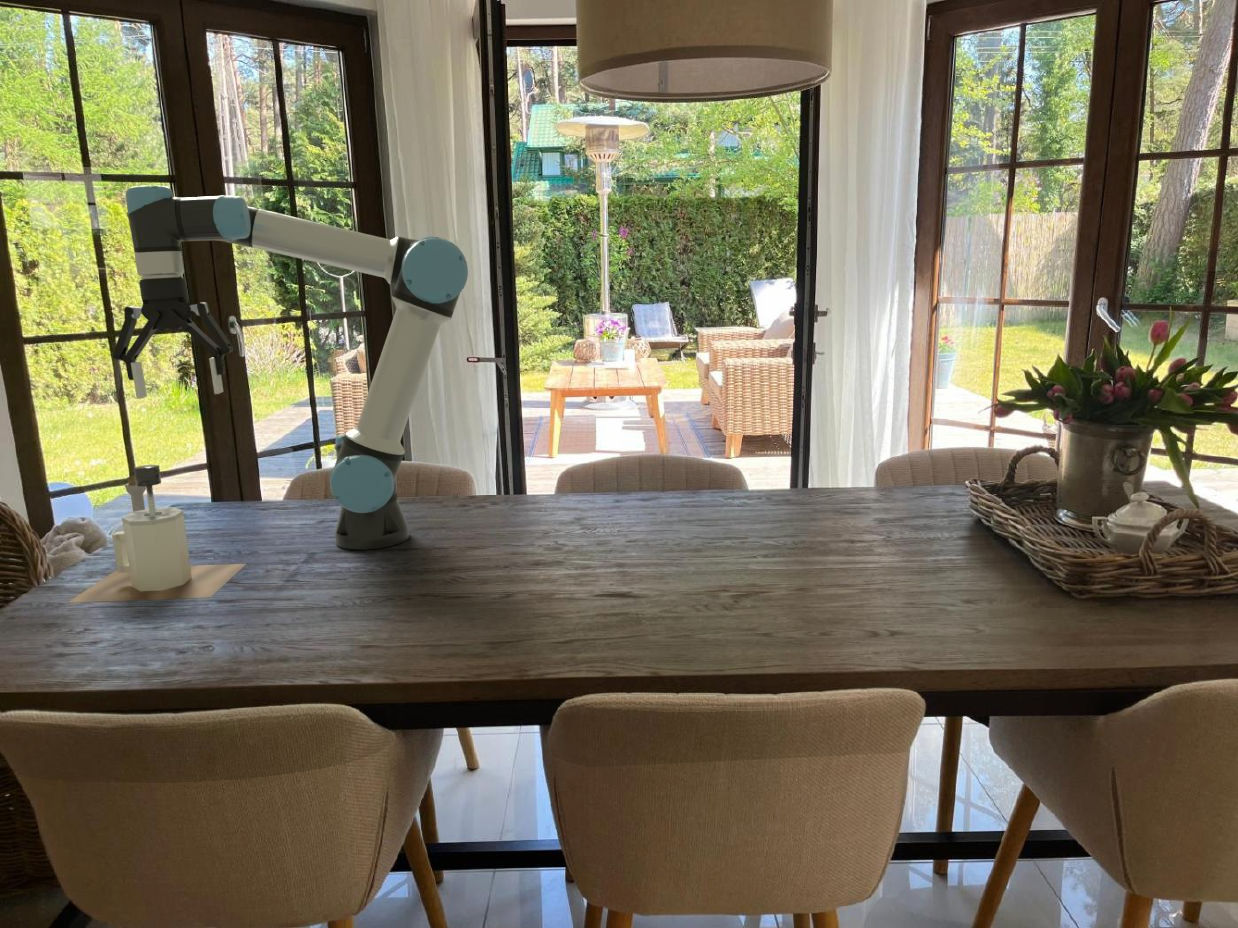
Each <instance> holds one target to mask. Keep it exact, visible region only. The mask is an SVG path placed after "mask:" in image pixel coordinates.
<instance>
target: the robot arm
mask: <svg viewBox="0 0 1238 928" xmlns="http://www.w3.org/2000/svg"><path fill="white" fill-rule="evenodd" d="M125 201H126V209H127V212H126V216H127V219H128V224H129V230H130V234H131V239H132V241H131V242H132V245H133V252H134V259H135V268H136V273H137V276H139V277H141V279H139V281H138V284H139V291H140V296H141V301H142V306H141V307H139V306H135V305H130V306H129V305H128V306H125V307H124V309H123V311H124V312H123V314H124V321H123V324H122V326H121V329H120V332H119V335H118V339H117V341H116V344H115V348H114V350H113V353H112V358H113V359H114V360H119V361H121V362H123V363H125V368H126V373H127V378H128V380H129V381H133V383H134V384H133V385H134V389H135V391H134V392H135V396H136V399H140V400H141V399H144V398H146V397H148V394H147V393H148V392H147V389H146V388H147V387H146V382H145V376H144V371H143V363H142V360H141V361H140V360H138V357H139V356H140V355H141V353H142V351H143V350H144V348H145V347H146V346H147V344H148V342H149V341H150V340H151V338H152V337H153V336H154V335H155V333H156V332H157V331H165V330H166V331H167V330H173V331H174V330H181V329H183V330H184V331H185V332H187V333H188V334H189V335H190V336H192V338H193V339H195V340H196V341H197V343H199V345H201V346H203V348H204V349H205V350H206V351H208V352H209V353H210V354H211V355H212V357H210V358H208V360H209V367H210V372H211V373H210V374H211V379H212V380H211V381H212V386H213V393H214V395H220V394H221V393H224V387H223V385H224V384H223V380H222V376H223V375H225V374H226V372H227V371H226V363H225V356H226V355H227V354H230V353H232V352H233V351H234V349H235V348H234V347H233V345H232V343H231V342H230V340H229V339H228V337H227V336H226V334H225V333H224V332H223V330H222V328H221V327H220V325H219V324H218V323H217V321H216V320H215V318H214V316H213V315H212V314H211V309H210V306H209V304H208V302H205V301H204V302H198V303H196V304H192V303H190V301H189V293H188V288H187V287H188V286H187V279H185V277H182V275H183V274H184V273H185V268H184V261H183V254H182V248H181V242H194V241H195V242H198V241H199V242H201V241H203V242H205V241H217V242H218V241H219V242H224V243H228V244H234V245H238V246H243V247H247V248H252V249H253V248H254V249H256V250H261V251H266V252H270V253H275V254H279V255H283V256H288V257H291V258H296V259H301V260H306V261H309V262H314V263H318V264H321V265H327V266H331V267H335V268H340V269H345V270H349V271H352V272H353V271H354V272H357V273H363V274H367V275H370V276H371V275H372V276H375V277H380V278H384V279H385V280H386V282H387V283H388V284H389V285H392V286H394V290H393V292H392V295H391V299H392V302H393V303H394V305H395V308H396V309H395V313H394V315H393V318H392V321H391V325H390V327H389V331H388V333H387V336H386V338H385V342H384V345H383V346H382V347H383V348H382V351H381V354H380V357H379V360H378V363H377V365H376V369H375V370H374V374H373V377H372V380H371V383H370V386H369V388H368V392H367V394H366V398H365V401H364V404H363V407H362V410H361V412H360V415H359V418H358V419H359V420H358V422H357V423H356V426H355V427H354V428H352V429H350V430H347V431H346V432H345V433H343V434H339V435H337V436H336V437H335V446H334V450H335V451H336V452H335V453H336V461H335V463H334V464H335V465H334V467H333V468H332V469H331V471H330V474H329V483H328V484H329V487H330V491H331V494H332V497H333V498H334V500H335V501H336V503H338V505H340V510H339V514H338V519H337V523H336V527H335V531H334V541H335V545H336V546H338V547H339V548H343V549H345V550H356V551H357V550H361V551H365V550H377V549H382V548H388V547H392V546H396V545H399V544H401V543H403V542H405V541H407V540H408V539H410V532H409V531H410V530H409V527H410V526H409V524H408V522H407V519H406V517H405V515H404V513H403V510H402V508H401V506H400V502H399V498H398V497H399V496H398V483H397V481H398V479H397V476H398V472H399V471H400V467H401V464H402V463H403V462H402V461H403V458H404V456H405V452H406V450H405V448H404V446H403V445H402V443H401V441H402V437H403V434H404V431H405V428H406V426H407V422H408V420H409V417H410V414H411V410H412V407H413V405H414V403H415V399H416V397H417V393H418V390H419V388H420V385H421V383H422V379H423V376H424V373H425V370H426V367H427V364H428V362H429V359H430V355H431V354H432V353H431V352H432V350H433V347H434V344H435V342H436V338H437V335H438V333H439V330H440V327H441V325H442V324H444V323H446V322H448V321H450V320H451V319H453V316H454V314H453V313H454V311H455V309H456V306H457V302H458V299H460V298H459V297H460V295H461V292H462V291H463V289H464V288H465V287H466V285H467V281H468V276H469V270H468V263H467V260H466V257H465V255H464V254H463V252H462V251H461V249H460V248H459V246H457V245H456V244H454V243H453V242H451V241H450V240H447V239H446V238H443V237H442V238H441V237H438V236H429V237H428V236H427V237H423V238H421V239H411V238H407V237H401V236H395V237H394V238H392V239H389V238H384V237H381V236H376V235H372V234H366V233H363V232H358V231H356V230H351V229H345V228H341V227H337V226H334V225H328V224H324V223H320V222H315V221H313V220H308V219H304V218H300V217H295V216H291V215H287V214H283V213H279V212H274V211H270V210H266V209H260V208H256V207H253V206H248V204H247V201H246V199H244V197H242V196H240V195H239V196H238V195H225V194H224V195H223V194H222V195H214V196H212V195H211V196H197V197H195V196H194V197H193V196H192V197H177V196H175V195H174V194H173V190H172V189H171V187H170V186H166V185H137V186H136V185H135V186H131V187H129V188H127V189H126V191H125ZM193 312H194V313H195V315H196V316H199V318H200V319H201V321H202V323H203V324H204V326H205V328H207V331H209V333H210V334H211V335H212V337H213V339H214V340H215V341H213V340H212V338H210V337H209V336H208V335H207V334H206V333H205V332H203V330H201V329H200V327H198V326H197V324H196V323H195V322H194V321H193V320H192V319H191V318H190V317H191V315H192V313H193ZM141 316H143V317H144V318H145V320H147V322H146V323H145V325H143V327H142V330H141V332H140V333H139V335H138V336H137V338H136V339H135V340H134V342H133V344H131V346H130V343H131V340H132V337H133V334H134V331H135V329H136V325H137V324H138V323H137V322H138V319H140V318H141ZM215 342H216V343H217V344H216V343H215ZM129 346H130V348H129Z"/></svg>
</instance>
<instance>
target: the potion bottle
mask: <svg viewBox="0 0 1238 928" xmlns="http://www.w3.org/2000/svg"><path fill="white" fill-rule="evenodd" d="M126 480H127V482H128V483H126V484H124V487H125V490H126V491H125V492H127V494H129V496H130V498H131V499H130V500H131V505H132V506H131V507H132V512H135V511H140V510H145V509H146V506H145V498H144V493H145V491H146V486H136V481H135V474H134V475H131V476H128V477H126Z"/></svg>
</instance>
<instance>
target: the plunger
mask: <svg viewBox="0 0 1238 928" xmlns="http://www.w3.org/2000/svg"><path fill="white" fill-rule="evenodd" d="M133 472H134V473H133V474H134V475H135V481H136V486H146V490H145V491H146V496H147V498H146V499H147V504H148V509H149V512H150V516H156V510H155V508H156V504H155V498H154V497H155V496H154V491H153V490H154V488H153V486H156V485H160V484H162V479H161V478H162V477H161V471H160V465H158V464H144V465H139V466H135V467H133Z"/></svg>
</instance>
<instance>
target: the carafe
mask: <svg viewBox="0 0 1238 928" xmlns="http://www.w3.org/2000/svg"><path fill="white" fill-rule="evenodd" d="M155 510H156V516H150V512H149V508H145V510H140V511H135V512H133V511H131V512H129V513H128V514H126V515H125V516H123V517H121V521H122V527H123V530H121V531H120V530H119V531H116V532H114V533H113V534H112V535H111V536H112V544H113V551H114V558H115V564H116V570H117V572H121V573H128V572H130V577H131V584H132V587H134V588H135V589H137V590H139V591H161V590H166V589H169V588H173V587H177V586H181V585H184V584H185V583H186V582H187V581H188V580H190V579H191V578H192V575H191V567H190V566H191V561H190V553H189V545H188V537H187V530H186V522H185V513H184V509H180V508H177V507H175V506H172V507H171V506H170V507H168V506H167V507H166V506H165V507H155Z"/></svg>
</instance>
